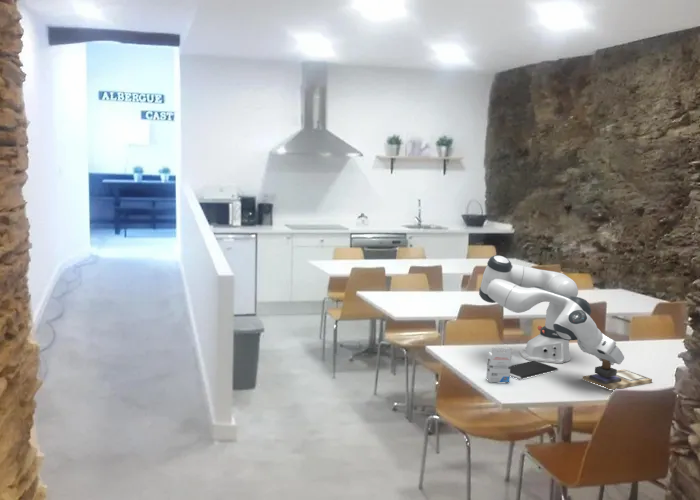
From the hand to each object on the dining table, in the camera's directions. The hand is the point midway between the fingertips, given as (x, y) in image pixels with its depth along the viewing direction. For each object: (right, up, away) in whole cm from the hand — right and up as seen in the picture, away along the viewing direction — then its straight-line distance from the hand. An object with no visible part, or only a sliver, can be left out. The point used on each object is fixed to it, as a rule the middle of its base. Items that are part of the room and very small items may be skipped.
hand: (607, 361), depth 288 cm
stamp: (-1, -5, 0) cm, 5 cm away
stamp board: (+6, -9, +5) cm, 12 cm away
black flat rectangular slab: (-30, -7, +13) cm, 33 cm away
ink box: (-46, -8, -3) cm, 47 cm away
